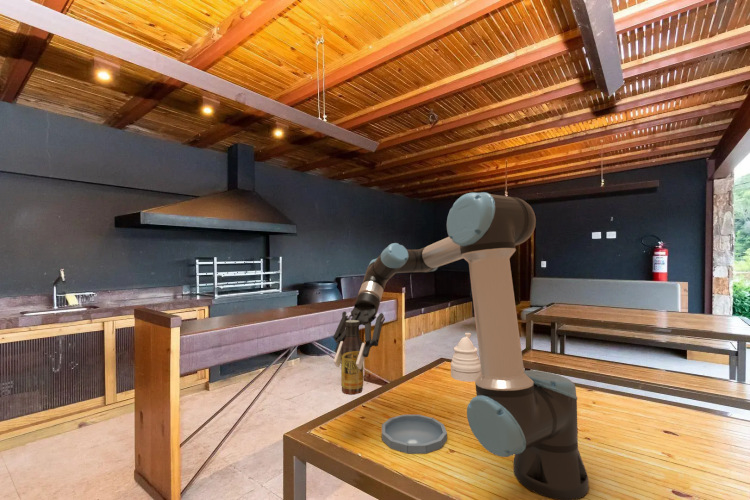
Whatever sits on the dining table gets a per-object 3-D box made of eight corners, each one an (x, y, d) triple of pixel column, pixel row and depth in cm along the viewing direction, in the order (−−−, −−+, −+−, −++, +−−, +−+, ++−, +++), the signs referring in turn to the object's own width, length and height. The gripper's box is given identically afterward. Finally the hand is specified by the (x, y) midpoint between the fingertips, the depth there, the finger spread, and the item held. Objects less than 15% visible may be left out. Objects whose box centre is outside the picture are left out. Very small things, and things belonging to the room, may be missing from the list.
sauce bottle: (343, 397, 93) (341, 323, 94) (339, 389, 99) (337, 320, 100) (367, 394, 95) (364, 321, 96) (361, 386, 101) (359, 318, 102)
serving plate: (451, 453, 89) (451, 445, 89) (381, 453, 89) (381, 445, 89) (440, 421, 107) (440, 414, 107) (381, 421, 107) (381, 414, 107)
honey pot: (462, 369, 156) (461, 329, 157) (488, 376, 146) (487, 334, 147) (444, 376, 148) (443, 334, 148) (470, 384, 138) (469, 338, 139)
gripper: (400, 307, 109) (383, 375, 93) (345, 305, 116) (321, 368, 100) (394, 292, 104) (376, 361, 89) (338, 291, 111) (311, 355, 95)
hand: (347, 365), depth 94 cm, fingers closed on sauce bottle, 6 cm apart
